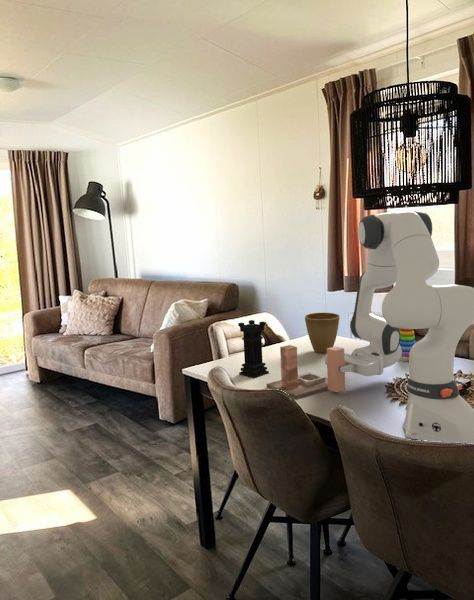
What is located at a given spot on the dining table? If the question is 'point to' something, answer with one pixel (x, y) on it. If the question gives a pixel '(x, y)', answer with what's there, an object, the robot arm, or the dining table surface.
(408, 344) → the stacking toy
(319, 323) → the plant pot
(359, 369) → the robot arm
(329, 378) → the loose pillar
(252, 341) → the chess piece
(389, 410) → the dining table surface
